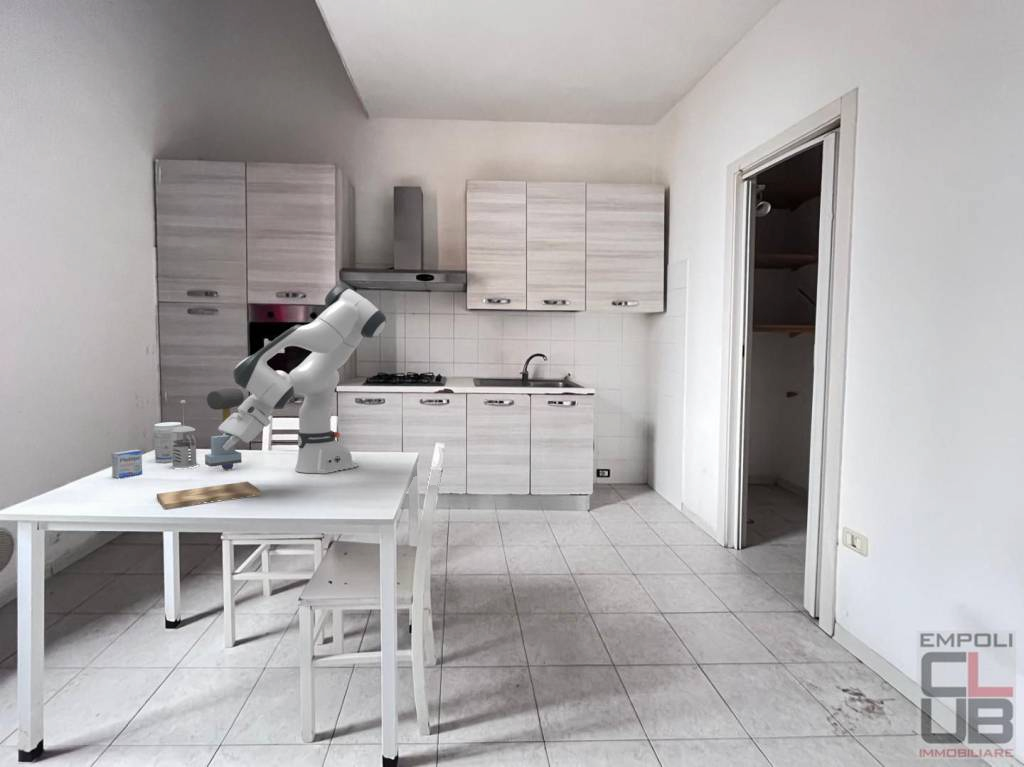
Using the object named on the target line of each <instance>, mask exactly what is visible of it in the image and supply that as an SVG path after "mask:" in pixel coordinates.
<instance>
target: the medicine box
mask: <svg viewBox="0 0 1024 767" xmlns="http://www.w3.org/2000/svg"><path fill="white" fill-rule="evenodd" d="M142 451H143V450H140V449H130V450H122V451H116V452H111V472H112V473H111V475H112V477H113V478H116V479H119V478H120V479H125V477H126V478H131V477H135V475H136V476H141V475H140V474H142V475H143V457H142V455H143V453H142ZM130 476H131V477H130Z"/></svg>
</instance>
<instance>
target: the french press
mask: <svg viewBox="0 0 1024 767" xmlns="http://www.w3.org/2000/svg"><path fill="white" fill-rule="evenodd" d="M179 403H180V404H182V424H183V425H182V426H180V427H177V428H175V429H173V430H172V431H171V432H172V433H182V434H186V433H187V434H189V433H193V432H196V430H197V429H196V428H194V427H193V426H187V425H185V417H184V416H185V412H184V405H185V404H187V401H186V400H185V399H181V400H180V401H179ZM174 443H176V444H175V445H173V446H172V451H173V461H175V462H173V463H172V465H171V466H170V467H171V468H189V467H194V466H197V465H199V466H200V463H198V462H197V443H196V439H195V437H194V435H193V434H191V435H190V436H188V435H186V439H185V437H183V440H182V439H181V440H176V441H174ZM174 450H175V451H174ZM174 454H175V455H174ZM174 457H175V458H174ZM171 468H170V469H171Z"/></svg>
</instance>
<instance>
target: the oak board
mask: <svg viewBox="0 0 1024 767" xmlns="http://www.w3.org/2000/svg"><path fill="white" fill-rule="evenodd" d="M260 494H262V491H261V489H260V488H258V487H256V486H255V485H254V484H253V483H250V482H249V481H241V482H235V483H234V482H233V483H225V484H220V485H212V486H205V487H197V488H196V487H195V488H190V489H182V490H176V491H174V490H173V491H168V492H162V493H161V492H160V493H156V500H157V499H158V500H159V501H158V500H157V501H158V503H160V505H161V504H162V505H161V506H162V507H163V508H164V510H169V509H170V510H171V508H172V509H176V508H177V507H178V508H183V507H182V506H185V507H188V506H187V505H191V506H193V505H192V504H198V505H200V504H199V503H204V502H211V501H218V500H224V501H226V500H225V499H231V500H233V499H232V498H238V499H241V498H240V497H244V498H248V497H247V496H251V497H254V496H253V495H257V496H261V495H260ZM218 502H219V501H218ZM211 503H212V502H211Z"/></svg>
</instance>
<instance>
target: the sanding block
mask: <svg viewBox="0 0 1024 767" xmlns="http://www.w3.org/2000/svg"><path fill="white" fill-rule="evenodd" d="M231 436H232V435H222V434H221V435H214V436H210V453H208V454H204V462H205V463H204V464H205V466H208V467H211V468H213V467H219V466H222V465H228V464H233V465H235V464H240V463H242V452H239V451H237V450H236V444H234V445H233V446H231V447H230V448H229V449H228V450H224V449H223V448H222V447H221V446H222V445H223V444H224V443H226V442H227V441H228V440H229V439H230V437H231Z"/></svg>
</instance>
